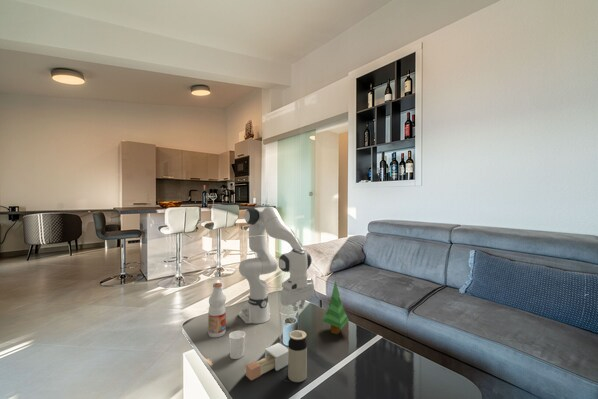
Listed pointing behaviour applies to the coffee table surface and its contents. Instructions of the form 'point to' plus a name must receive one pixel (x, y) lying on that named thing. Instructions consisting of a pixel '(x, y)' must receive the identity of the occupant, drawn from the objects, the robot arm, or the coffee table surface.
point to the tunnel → (278, 355)
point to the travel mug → (297, 356)
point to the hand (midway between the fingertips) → (298, 309)
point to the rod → (266, 364)
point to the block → (252, 370)
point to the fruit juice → (217, 312)
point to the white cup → (237, 344)
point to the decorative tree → (335, 312)
